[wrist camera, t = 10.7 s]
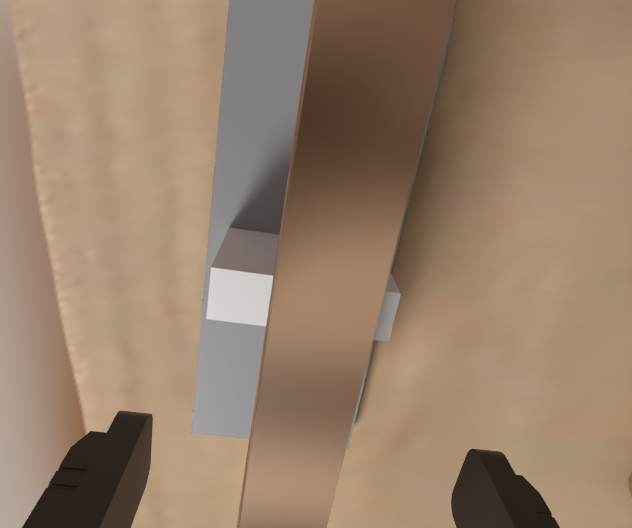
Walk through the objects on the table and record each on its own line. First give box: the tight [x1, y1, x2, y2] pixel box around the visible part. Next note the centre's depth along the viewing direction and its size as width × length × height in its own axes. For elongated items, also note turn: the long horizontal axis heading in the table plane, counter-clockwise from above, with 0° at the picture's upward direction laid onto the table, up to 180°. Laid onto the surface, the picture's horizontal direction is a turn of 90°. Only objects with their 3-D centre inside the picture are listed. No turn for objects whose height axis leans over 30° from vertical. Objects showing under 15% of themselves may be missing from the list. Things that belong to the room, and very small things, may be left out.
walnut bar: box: [237, 0, 456, 528], centre depth 17 cm, size 24×3×6 cm, turn 170°
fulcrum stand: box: [191, 0, 455, 449], centre depth 23 cm, size 25×10×7 cm, turn 170°
